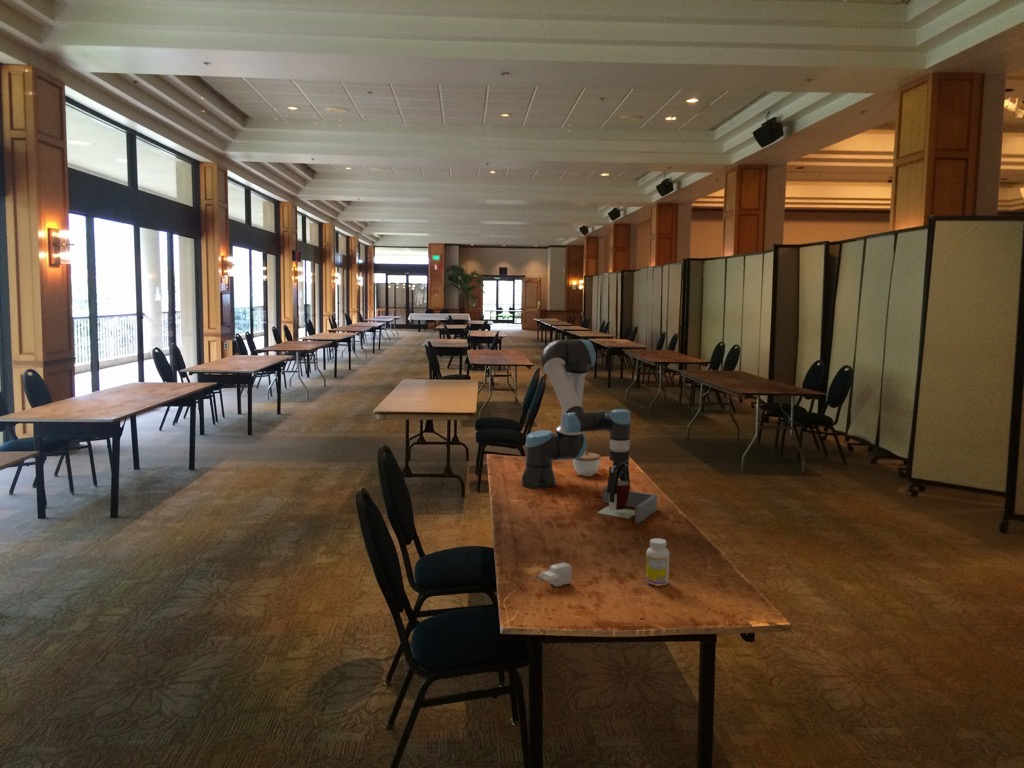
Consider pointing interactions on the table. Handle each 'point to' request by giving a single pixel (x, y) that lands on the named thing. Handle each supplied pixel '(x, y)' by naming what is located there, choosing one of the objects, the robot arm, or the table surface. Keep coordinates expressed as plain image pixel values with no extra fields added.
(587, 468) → the white lidded pot
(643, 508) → the corner arena
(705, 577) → the table surface
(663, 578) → the supplement bottle
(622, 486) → the mug
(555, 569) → the power adapter
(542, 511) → the table surface
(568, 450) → the robot arm
